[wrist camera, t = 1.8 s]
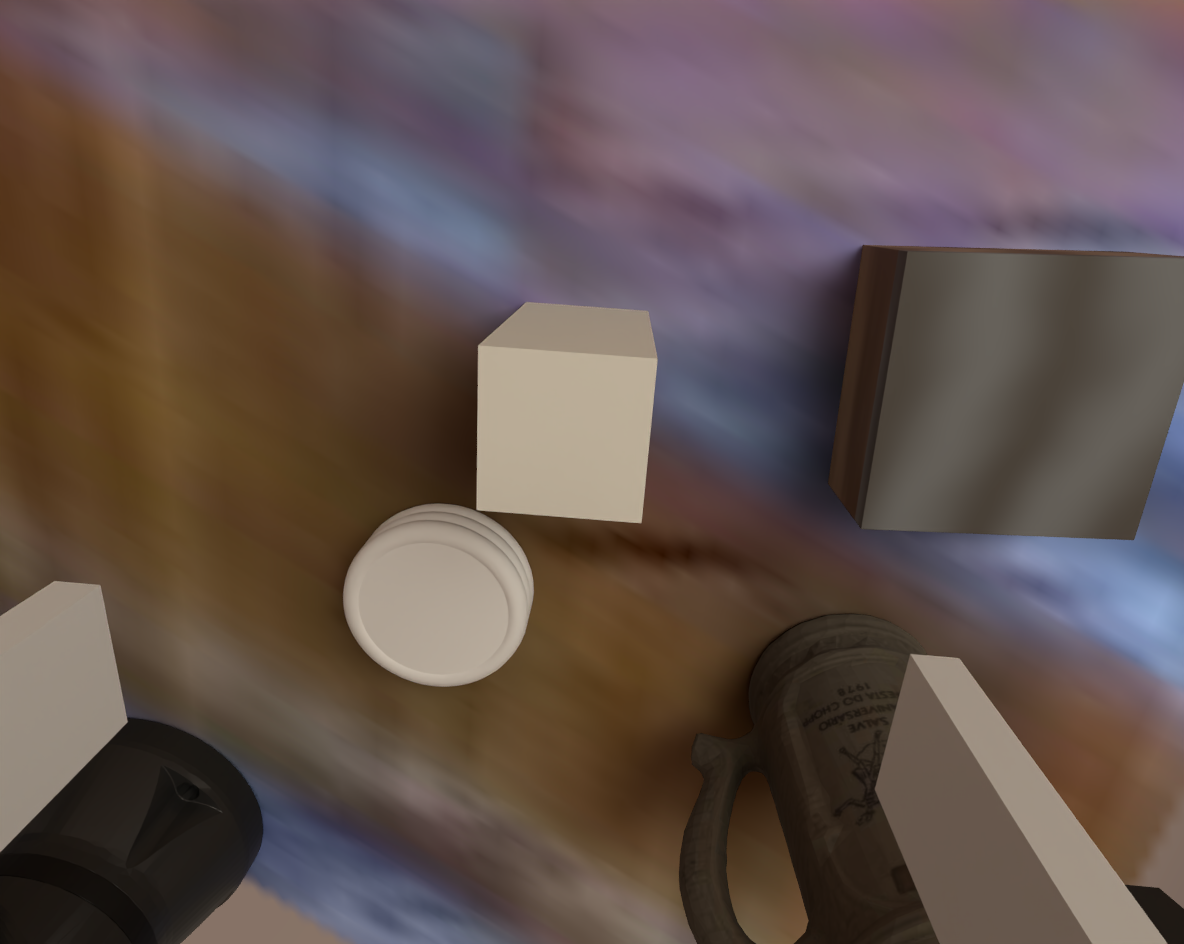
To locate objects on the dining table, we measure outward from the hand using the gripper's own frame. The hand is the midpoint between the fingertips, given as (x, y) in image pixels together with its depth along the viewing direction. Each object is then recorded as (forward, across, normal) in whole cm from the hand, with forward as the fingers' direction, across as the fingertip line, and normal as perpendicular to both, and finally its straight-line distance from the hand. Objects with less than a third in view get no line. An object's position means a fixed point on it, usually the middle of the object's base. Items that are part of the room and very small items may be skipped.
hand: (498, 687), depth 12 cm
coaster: (+26, -7, -13) cm, 30 cm away
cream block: (+26, 0, 0) cm, 26 cm away
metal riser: (+26, +19, +1) cm, 32 cm away
